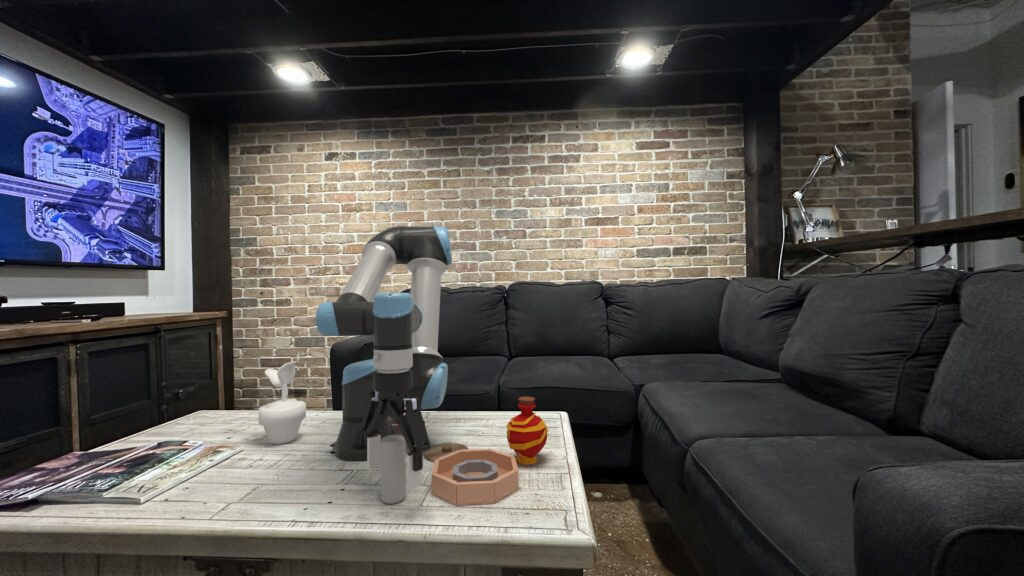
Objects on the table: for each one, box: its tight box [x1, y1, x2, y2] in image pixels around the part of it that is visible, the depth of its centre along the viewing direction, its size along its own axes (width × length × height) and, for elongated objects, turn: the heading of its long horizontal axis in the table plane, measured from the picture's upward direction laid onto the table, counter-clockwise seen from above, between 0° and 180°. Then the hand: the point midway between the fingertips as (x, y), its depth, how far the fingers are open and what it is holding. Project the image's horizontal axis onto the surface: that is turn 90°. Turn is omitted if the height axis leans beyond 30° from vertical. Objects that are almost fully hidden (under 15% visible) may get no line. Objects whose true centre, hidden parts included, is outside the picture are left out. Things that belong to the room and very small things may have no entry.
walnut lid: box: [424, 442, 470, 464], centre depth 105 cm, size 11×11×3 cm
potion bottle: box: [506, 396, 549, 466], centre depth 102 cm, size 10×10×15 cm
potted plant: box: [258, 351, 308, 445], centre depth 116 cm, size 13×12×25 cm
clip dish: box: [431, 448, 519, 506], centre depth 89 cm, size 18×18×4 cm
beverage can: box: [380, 434, 407, 505], centre depth 83 cm, size 5×5×12 cm
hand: (393, 477), depth 83 cm, fingers open, 13 cm apart
